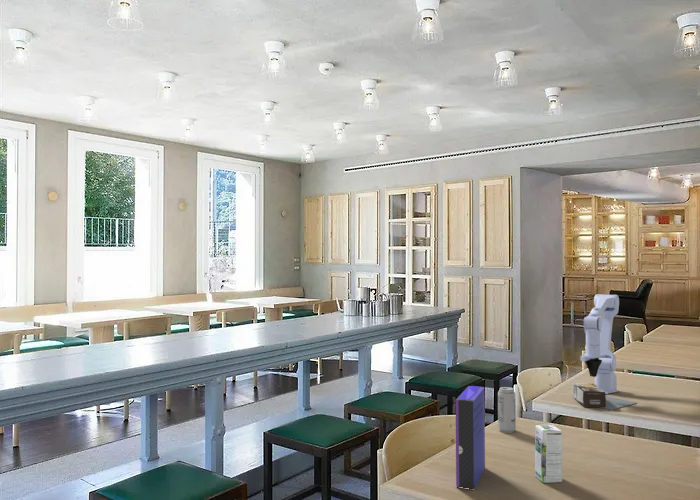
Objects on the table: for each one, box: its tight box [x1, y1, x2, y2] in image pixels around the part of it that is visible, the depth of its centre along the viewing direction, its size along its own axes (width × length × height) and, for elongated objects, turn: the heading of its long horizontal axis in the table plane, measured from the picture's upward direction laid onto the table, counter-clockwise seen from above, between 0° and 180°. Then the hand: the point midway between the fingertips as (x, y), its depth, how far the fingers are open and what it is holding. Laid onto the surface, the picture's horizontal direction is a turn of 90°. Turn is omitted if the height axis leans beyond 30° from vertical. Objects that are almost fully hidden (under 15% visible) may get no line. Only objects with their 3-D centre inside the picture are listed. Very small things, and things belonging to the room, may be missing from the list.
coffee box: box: [571, 382, 606, 408], centre depth 246 cm, size 9×6×16 cm
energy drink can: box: [497, 386, 517, 434], centre depth 209 cm, size 6×6×15 cm
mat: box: [576, 395, 638, 411], centre depth 246 cm, size 18×16×1 cm
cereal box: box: [455, 385, 486, 490], centre depth 167 cm, size 17×5×24 cm, turn 157°
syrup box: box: [534, 424, 563, 484], centre depth 165 cm, size 6×6×14 cm
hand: (593, 376), depth 251 cm, fingers closed
